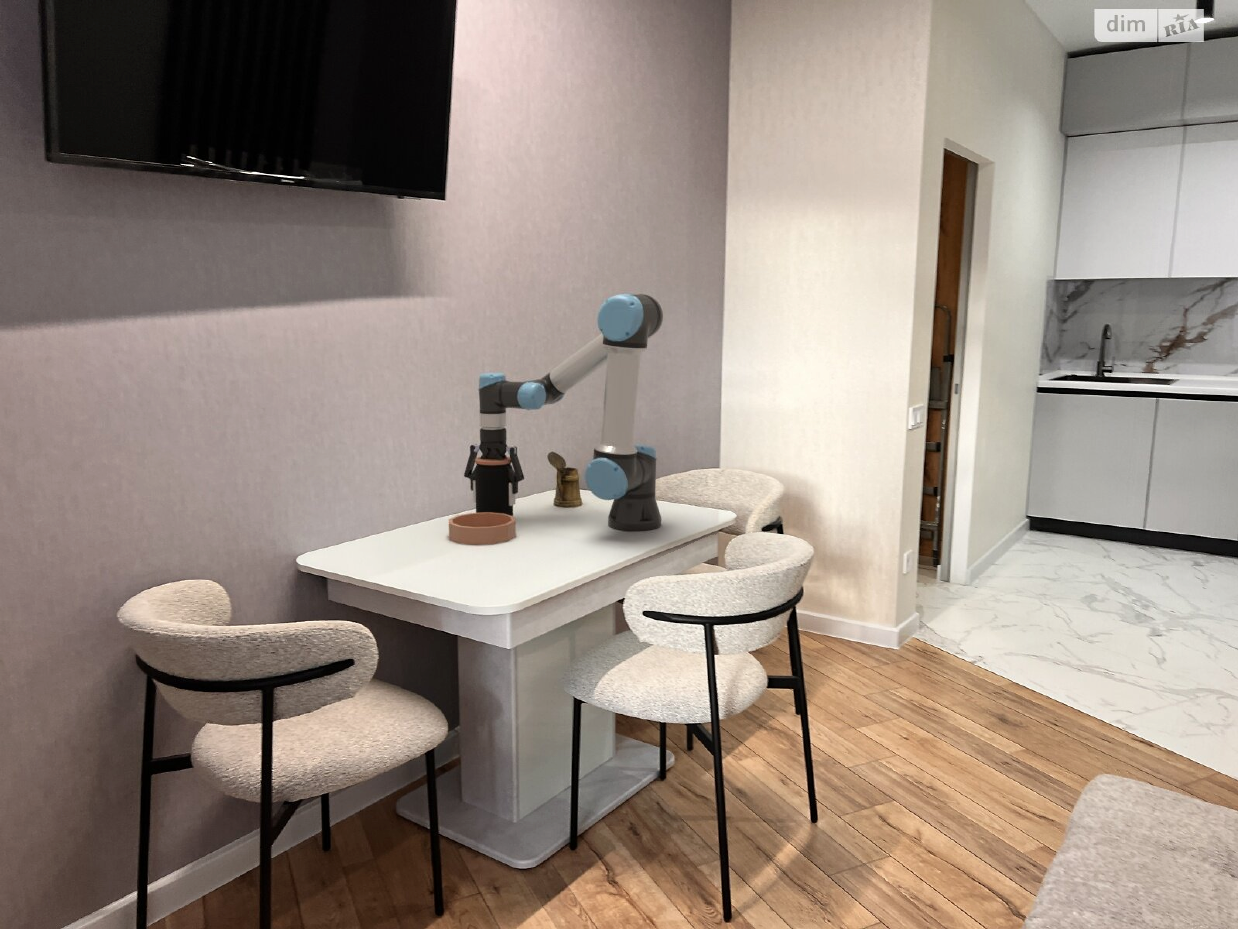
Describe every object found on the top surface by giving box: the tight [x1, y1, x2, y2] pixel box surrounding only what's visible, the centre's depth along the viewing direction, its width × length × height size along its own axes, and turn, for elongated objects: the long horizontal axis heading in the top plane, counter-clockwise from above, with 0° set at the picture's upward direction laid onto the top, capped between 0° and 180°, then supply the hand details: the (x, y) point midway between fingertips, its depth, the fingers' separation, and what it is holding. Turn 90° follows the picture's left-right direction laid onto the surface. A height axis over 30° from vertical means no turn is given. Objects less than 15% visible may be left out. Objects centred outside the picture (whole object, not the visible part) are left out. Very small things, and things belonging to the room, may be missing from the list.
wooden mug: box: [546, 451, 583, 508], centre depth 288 cm, size 9×14×18 cm, turn 151°
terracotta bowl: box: [448, 512, 517, 546], centre depth 252 cm, size 18×18×4 cm
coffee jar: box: [474, 455, 514, 516], centre depth 269 cm, size 11×11×18 cm
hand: (494, 503), depth 270 cm, fingers closed on coffee jar, 11 cm apart
